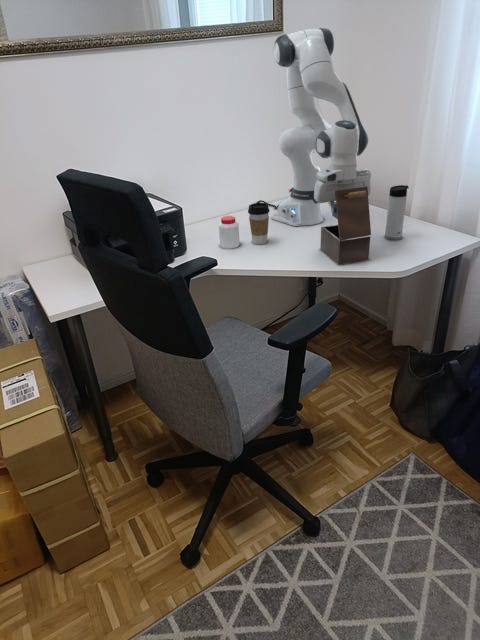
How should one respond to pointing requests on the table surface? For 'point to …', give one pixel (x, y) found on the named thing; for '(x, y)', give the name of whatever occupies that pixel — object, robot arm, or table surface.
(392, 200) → the travel mug
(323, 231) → the chest
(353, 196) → the lid
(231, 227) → the pill bottle
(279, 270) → the table surface
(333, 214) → the block
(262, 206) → the coffee cup
